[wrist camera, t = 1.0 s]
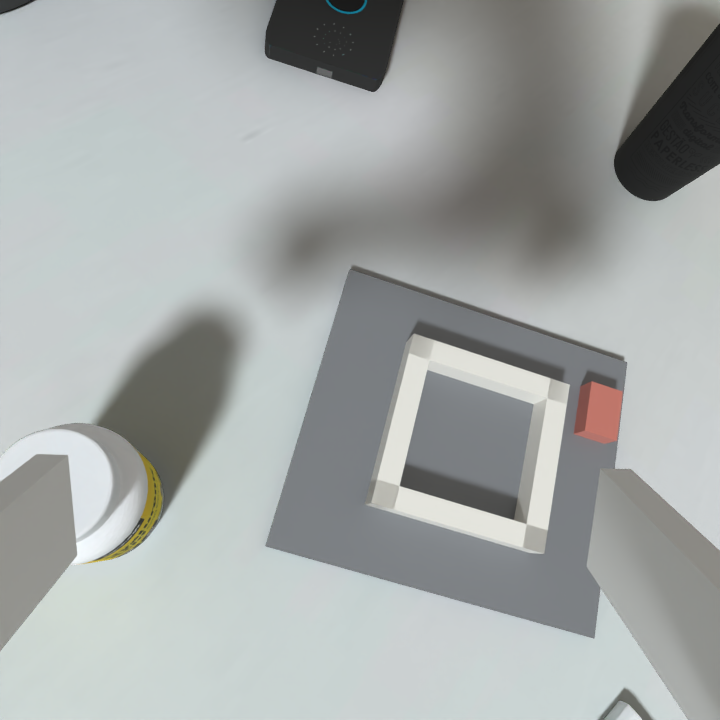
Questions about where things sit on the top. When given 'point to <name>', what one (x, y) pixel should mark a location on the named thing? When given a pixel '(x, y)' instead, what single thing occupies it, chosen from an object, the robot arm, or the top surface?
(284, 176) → the top surface
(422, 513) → the socket board
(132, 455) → the supplement bottle
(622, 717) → the external hard drive
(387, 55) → the smart home device
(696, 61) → the drinking cup
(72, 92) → the top surface
